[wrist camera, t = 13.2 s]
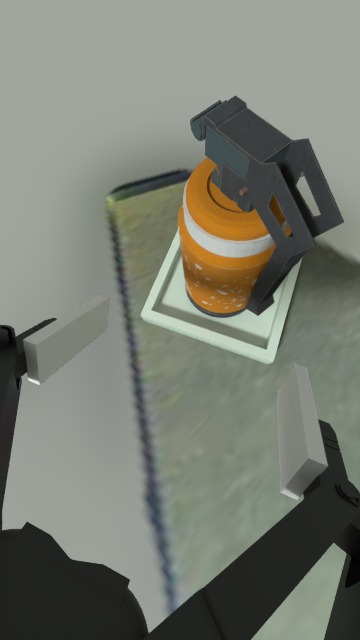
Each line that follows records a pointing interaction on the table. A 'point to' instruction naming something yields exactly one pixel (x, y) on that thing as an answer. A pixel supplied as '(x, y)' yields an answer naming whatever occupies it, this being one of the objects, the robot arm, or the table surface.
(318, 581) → the table surface
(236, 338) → the tray
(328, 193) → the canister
